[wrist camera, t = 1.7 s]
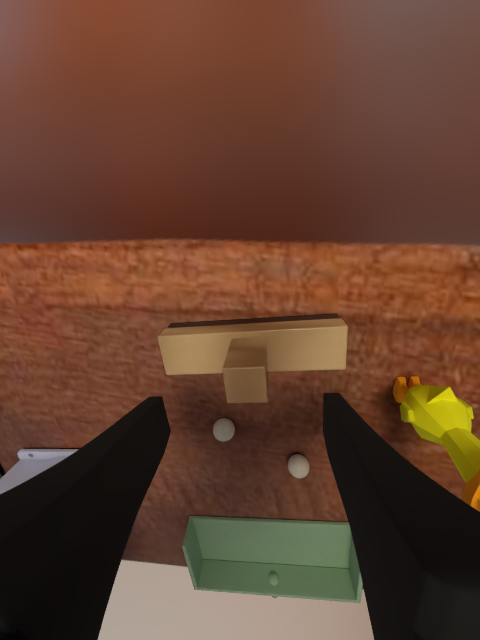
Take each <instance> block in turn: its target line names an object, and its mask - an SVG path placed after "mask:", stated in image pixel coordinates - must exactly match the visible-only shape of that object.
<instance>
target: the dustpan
mask: <svg viewBox="0 0 480 640" xmlns="http://www.w3.org/2000/svg"><path fill="white" fill-rule="evenodd" d="M182 549H183V552H184V555H185V559H186V562H187V566H188V569H189V572H190V576H191V579H192V583H193V586H194V589H195V590H206V591H207V590H208V591H218V592H232V593H243V594H256V595H268V596H272V597H274V598H277V597H278V596H280V597H292V598H305V599H317V600H330V601H342V602H354V603H360V602H361V593H362V585H363V583H362V578H361V574H360V569H359V564H358V560H357V555H356V551H355V547H354V542H353V538H352V534H351V529H350V525H349V522H328V521H305V520H281V519H258V518H234V517H210V516H190V517H189V521H188V525H187V529H186V533H185V536H184V540H183V544H182ZM207 559H213V560H207ZM222 560H229V561H222ZM238 561H244V562H238ZM253 562H260V563H253ZM268 563H275V564H268ZM284 564H290V565H284ZM299 565H306V566H299ZM315 566H321V567H315ZM330 567H337V568H330ZM345 568H349V569H345Z"/></svg>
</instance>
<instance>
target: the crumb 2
mask: <svg viewBox="0 0 480 640" xmlns="http://www.w3.org/2000/svg"><path fill="white" fill-rule="evenodd" d="M288 469H289V472H290V473H291V474H292V475H293V476H294V477H296V478H303V477H305V476H306V475H307V474H308V472H309V463H308V461H307V459H306V458H305V457H304V456H302V455H300V454H295V455H293V456H291V457H290V459H289V461H288Z"/></svg>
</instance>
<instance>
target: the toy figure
mask: <svg viewBox="0 0 480 640" xmlns="http://www.w3.org/2000/svg"><path fill="white" fill-rule="evenodd" d="M393 395H394V398H395V400H396V402H398V403H401V405H400V413H401V420H402V421H404V422H410V423H411V424H412V426H413V427H414V429H415V430H416V432H417V433H418V434H419V436H420V437H421V438H423V439H426V440H429V441H432V442H435V443H438V444H441V445H444V447H445V449H446V450H447V452H448V454H449V456H450V457H451V459H452V461H453V462H454V464H455V466H456V467H457V469H458V471H459V472H460V474H461V476H462V478H463V479H464V481H465V483H466V485H465V489H464V494H463V499H462V501H464V502H465V503H467V504H468V505H470V506H471V507H473V508H475V509H476V510H478V511H479V512H480V440H479V439H478V438H476V437H475V436H474V435H473V434H472V433H471V423H472V422H471V419H474V416H473V411H472V407H471V406H469V405H468V404H467V403H465V402H464V401H462V400H461V399H460V398H459V399H457V398H456V397H455V395H454V394H453V392H452V390H451V388H450V387H445V386H430V385H421V384H420V380H419V377H418V376H412V377H410V379H409V383H408V386H407V384H406V378H405V377H397V378H396V381H395V384H394V387H393Z"/></svg>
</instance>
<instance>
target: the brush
mask: <svg viewBox="0 0 480 640" xmlns="http://www.w3.org/2000/svg"><path fill="white" fill-rule="evenodd" d="M347 330H348V326H347V325H346V324H345V322H344V321H343V320H342V318H340V317H339V316H338V314H319V315H303V316H286V317H269V318H253V319H236V320H219V321H202V322H186V323H171V324H170V325H169V326H168V327H167V328H165V329H164V330H163V331H162V332H161V333H160V334H159V335H158V341H159V346H160V350H161V354H162V358H163V363H164V367H165V371H166V375H183V374H214V373H223V378H224V385H225V391H226V398H227V403H266V402H268V372H276V371H307V370H338V369H346V350H347Z"/></svg>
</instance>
